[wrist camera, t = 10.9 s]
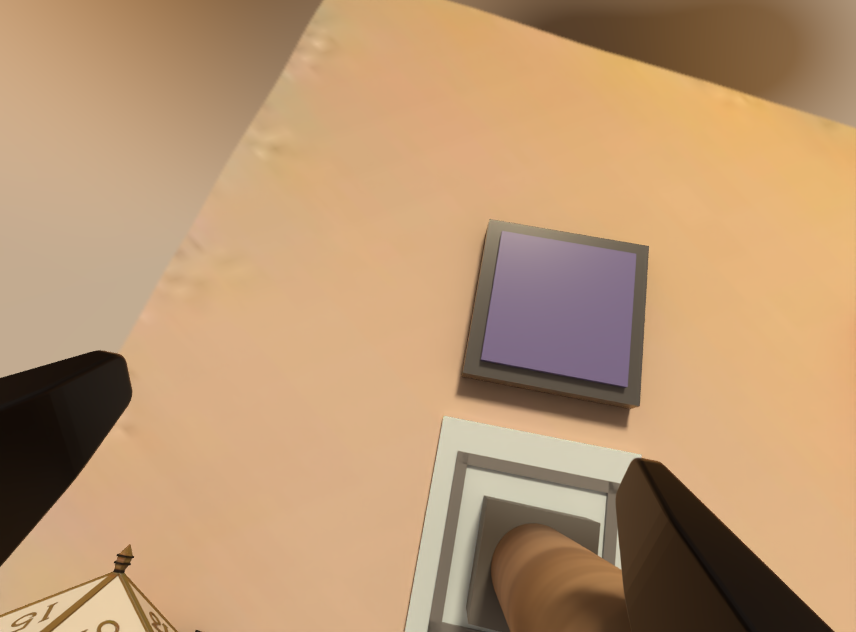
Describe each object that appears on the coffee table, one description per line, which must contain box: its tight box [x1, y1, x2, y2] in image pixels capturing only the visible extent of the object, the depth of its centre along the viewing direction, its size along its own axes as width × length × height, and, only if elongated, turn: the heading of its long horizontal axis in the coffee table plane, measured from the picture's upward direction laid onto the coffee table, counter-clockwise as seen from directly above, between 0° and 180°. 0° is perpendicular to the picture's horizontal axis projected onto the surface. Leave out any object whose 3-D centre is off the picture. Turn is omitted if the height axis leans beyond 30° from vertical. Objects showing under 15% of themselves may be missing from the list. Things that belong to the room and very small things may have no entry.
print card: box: [405, 416, 642, 632], centre depth 20 cm, size 10×9×1 cm
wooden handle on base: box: [466, 495, 631, 632], centre depth 13 cm, size 4×4×13 cm
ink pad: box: [462, 219, 649, 409], centre depth 22 cm, size 8×8×1 cm
